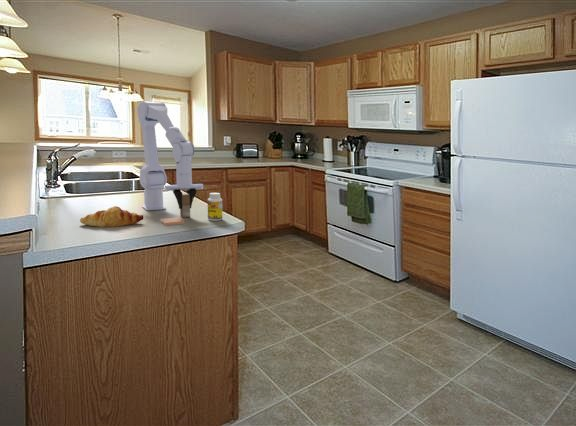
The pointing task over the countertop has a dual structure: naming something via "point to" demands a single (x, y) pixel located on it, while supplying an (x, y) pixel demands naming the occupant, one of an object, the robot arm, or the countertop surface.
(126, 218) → the croissant
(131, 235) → the countertop surface
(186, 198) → the wooden rectangular block
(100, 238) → the countertop surface
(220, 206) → the supplement bottle
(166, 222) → the tile
